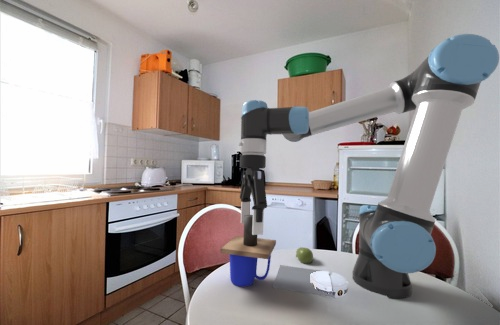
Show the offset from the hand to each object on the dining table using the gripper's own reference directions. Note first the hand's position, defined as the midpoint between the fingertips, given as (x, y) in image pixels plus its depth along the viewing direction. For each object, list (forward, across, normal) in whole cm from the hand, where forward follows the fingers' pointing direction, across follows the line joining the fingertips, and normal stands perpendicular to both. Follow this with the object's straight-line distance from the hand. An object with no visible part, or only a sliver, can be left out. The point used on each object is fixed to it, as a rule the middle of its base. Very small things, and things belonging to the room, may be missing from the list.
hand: (250, 228), depth 66 cm
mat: (+16, +1, +16) cm, 23 cm away
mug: (+16, 0, 0) cm, 16 cm away
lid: (+6, 0, 0) cm, 6 cm away
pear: (+16, -13, +24) cm, 32 cm away
